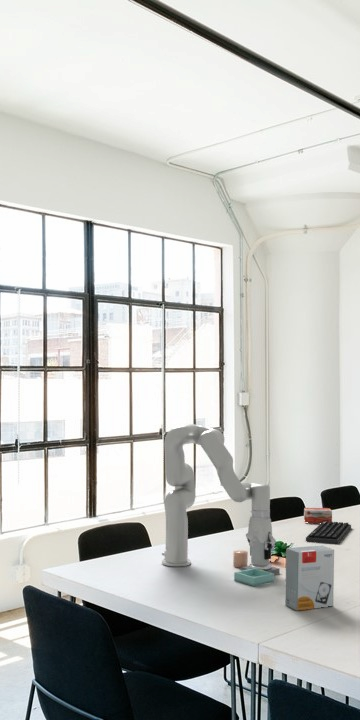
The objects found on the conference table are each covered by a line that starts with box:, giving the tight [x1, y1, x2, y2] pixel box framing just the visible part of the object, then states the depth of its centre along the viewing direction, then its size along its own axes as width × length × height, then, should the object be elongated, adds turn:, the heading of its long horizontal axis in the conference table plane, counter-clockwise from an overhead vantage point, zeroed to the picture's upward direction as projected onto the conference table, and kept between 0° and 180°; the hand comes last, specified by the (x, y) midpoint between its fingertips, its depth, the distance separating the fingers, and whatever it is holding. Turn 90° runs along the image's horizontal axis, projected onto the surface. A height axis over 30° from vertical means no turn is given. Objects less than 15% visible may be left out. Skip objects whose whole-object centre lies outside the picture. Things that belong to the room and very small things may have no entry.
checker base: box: [241, 565, 280, 576], centre depth 296 cm, size 11×11×3 cm
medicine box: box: [303, 507, 333, 523], centre depth 411 cm, size 15×8×8 cm, turn 85°
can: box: [250, 536, 270, 567], centre depth 297 cm, size 8×8×12 cm
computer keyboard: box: [305, 520, 352, 545], centre depth 377 cm, size 45×16×4 cm, turn 159°
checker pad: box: [249, 562, 273, 570], centre depth 296 cm, size 9×9×1 cm
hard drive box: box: [284, 545, 335, 611], centre depth 251 cm, size 16×8×20 cm, turn 114°
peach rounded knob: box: [232, 549, 249, 569], centre depth 307 cm, size 6×6×6 cm
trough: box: [233, 568, 275, 587], centre depth 283 cm, size 11×11×3 cm
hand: (260, 556), depth 297 cm, fingers closed on can, 7 cm apart
